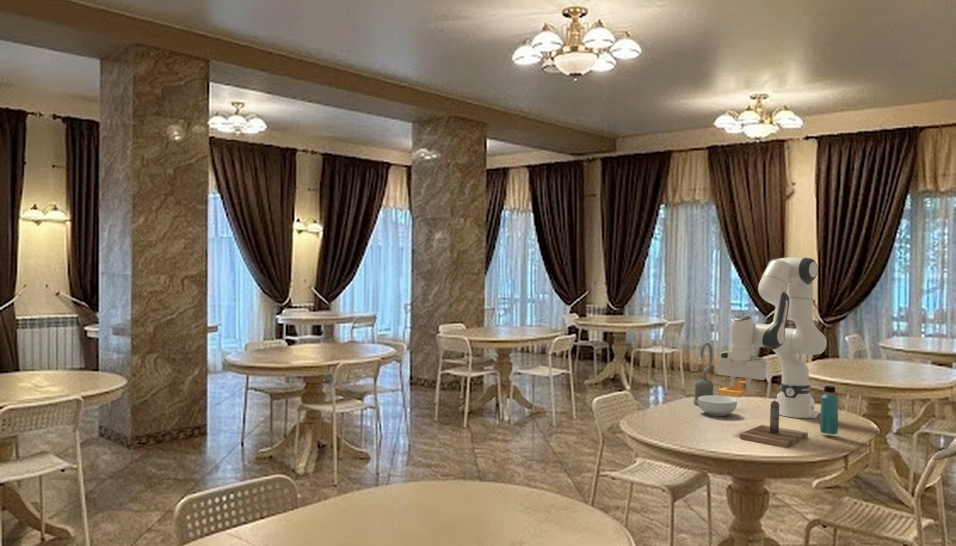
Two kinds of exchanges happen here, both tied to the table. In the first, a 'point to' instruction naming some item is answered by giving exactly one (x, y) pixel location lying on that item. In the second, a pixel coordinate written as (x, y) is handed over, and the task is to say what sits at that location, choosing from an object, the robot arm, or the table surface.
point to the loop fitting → (734, 390)
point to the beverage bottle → (829, 412)
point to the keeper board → (774, 438)
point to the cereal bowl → (717, 405)
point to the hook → (704, 378)
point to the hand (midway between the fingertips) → (740, 387)
